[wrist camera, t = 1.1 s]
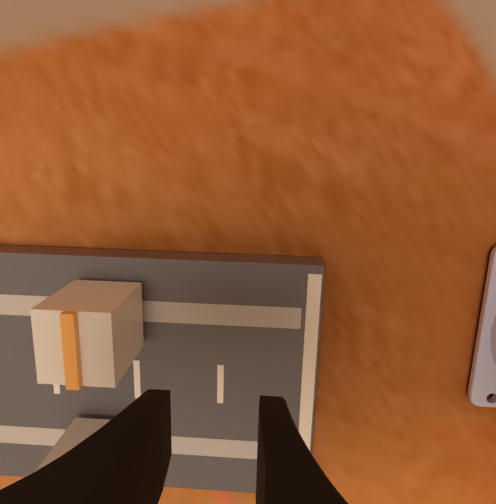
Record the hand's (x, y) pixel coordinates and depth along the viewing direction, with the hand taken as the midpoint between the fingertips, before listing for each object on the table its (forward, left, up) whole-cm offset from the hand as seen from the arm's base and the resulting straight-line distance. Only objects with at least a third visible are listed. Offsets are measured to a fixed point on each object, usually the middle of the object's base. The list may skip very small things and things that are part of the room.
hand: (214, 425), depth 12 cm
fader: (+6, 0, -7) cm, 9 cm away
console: (+5, +3, -9) cm, 11 cm away
